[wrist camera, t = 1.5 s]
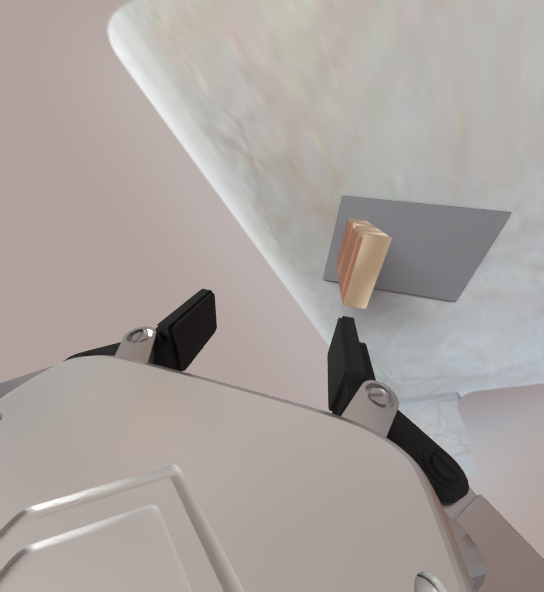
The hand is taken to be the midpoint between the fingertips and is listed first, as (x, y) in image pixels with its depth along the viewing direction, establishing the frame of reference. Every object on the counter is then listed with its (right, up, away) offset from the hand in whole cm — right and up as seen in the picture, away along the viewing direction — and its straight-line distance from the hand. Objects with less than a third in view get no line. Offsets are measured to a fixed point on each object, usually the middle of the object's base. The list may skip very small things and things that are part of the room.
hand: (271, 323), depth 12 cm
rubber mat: (+21, +9, +20) cm, 30 cm away
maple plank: (+13, +10, +21) cm, 27 cm away
